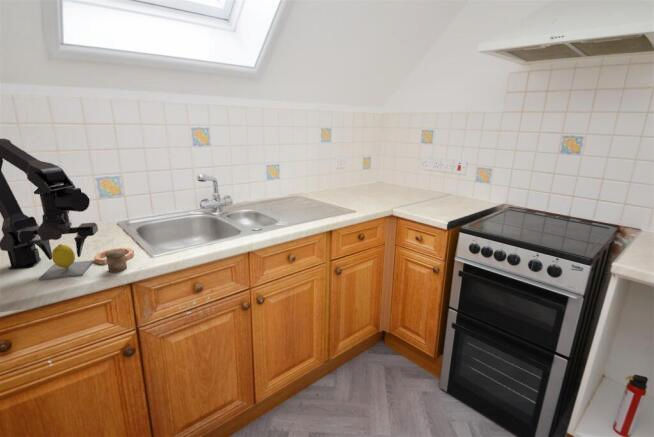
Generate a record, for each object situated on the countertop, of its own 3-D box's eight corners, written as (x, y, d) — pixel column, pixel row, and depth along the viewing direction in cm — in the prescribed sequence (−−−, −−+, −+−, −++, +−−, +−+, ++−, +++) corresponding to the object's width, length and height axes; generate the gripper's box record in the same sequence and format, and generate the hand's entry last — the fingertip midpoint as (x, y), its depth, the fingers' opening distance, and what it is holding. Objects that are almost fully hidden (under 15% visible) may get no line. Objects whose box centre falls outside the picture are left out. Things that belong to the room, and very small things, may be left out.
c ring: (91, 265, 113) (90, 261, 113) (100, 253, 124) (99, 249, 123) (130, 261, 117) (130, 257, 117) (136, 250, 127) (135, 246, 127)
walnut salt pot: (106, 273, 108) (103, 256, 106) (110, 267, 113) (107, 250, 111) (125, 271, 110) (123, 254, 108) (129, 265, 115) (126, 248, 113)
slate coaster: (39, 280, 103) (38, 278, 103) (53, 265, 113) (53, 264, 113) (82, 275, 107) (82, 273, 106) (93, 261, 117) (92, 260, 116)
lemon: (81, 264, 112) (75, 240, 110) (69, 271, 107) (62, 246, 105) (64, 265, 112) (57, 242, 110) (51, 272, 107) (44, 248, 105)
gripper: (2, 218, 94) (15, 272, 98) (83, 213, 100) (92, 264, 104) (21, 208, 104) (33, 257, 109) (94, 204, 110) (102, 251, 114)
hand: (65, 258), depth 109 cm, fingers open, 7 cm apart
